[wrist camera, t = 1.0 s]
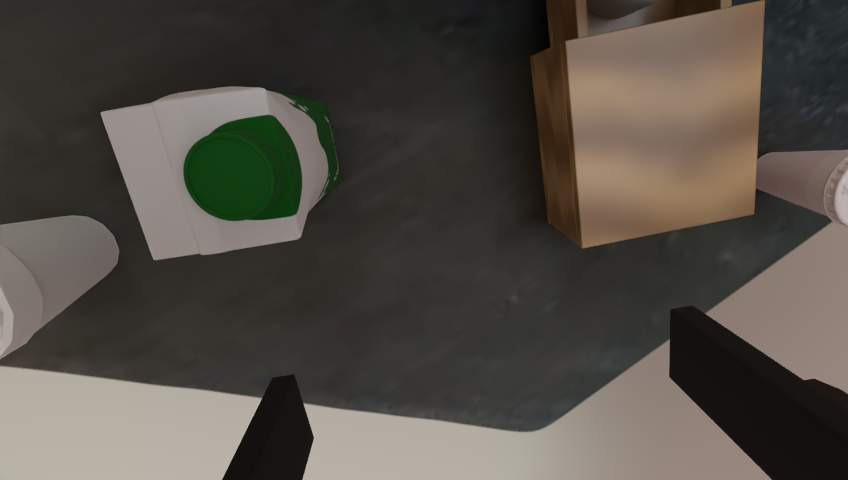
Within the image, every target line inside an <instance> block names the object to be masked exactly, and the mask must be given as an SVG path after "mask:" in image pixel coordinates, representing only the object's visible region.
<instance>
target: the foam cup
mask: <svg viewBox="0 0 848 480" xmlns="http://www.w3.org/2000/svg"><path fill="white" fill-rule="evenodd" d="M118 256H119V248H118V245H117V243H116V240H115V237H114V235H113V234H112V233H111V232H110V231H109V230H108V229H107V228H106V227H105V226H104V225H103V224H102V223H100V222H98V221H96V220H94V219H92V218H90V217H87V216H75V215H71V216H61V217H54V218H47V219H39V220H32V221H25V222H18V223H10V224H3V225H0V359H1V358H3V357H5V356H6V355H8V354H9V353H11V352H13V351H14V350H16V349H18V348H19V347H21V346H23V345H24V344H26V343H27V342H28V340H29V339H30V338H31V337H32V335H33V334H34V333H35V332H36V331H38V330H39V329H40V328H41V327H43V326H44V325H45V324H46V323H48V322H49V321H50V320H51V319H53V318H54V317H55V316H56V315H58V314H59V313H60V312H62V311H63V310H64V309H65V308H67V307H68V306H69V305H70V304H72V303H73V302H74V301H75V300H77V299H78V298H79V297H80V296H82V295H83V294H84V293H85V292H87V291H88V290H89V289H90V288H92V287H93V286H94V285H95V284H97V283H98V282H99V281H100V280H102V279H103V278H104V277H105V276H106V275H107V274H109V273H110V272H111V271H112V269H113V268H114V267H115V266H116V264H117V263H118Z"/></svg>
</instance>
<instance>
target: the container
mask: <svg viewBox="0 0 848 480" xmlns="http://www.w3.org/2000/svg"><path fill="white" fill-rule="evenodd" d="M659 1H661V0H586V4H587V8H588V9H589V10H590V11H591V12H593V13H594V14H596V15H598V16H600V17H603V18H608V19H616V18H621V17H625V16H627V15H629V14H632V13H634V12H636V11H638V10H641V9H643V8H645V7H648V6H650V5H652V4H654V3H657V2H659Z"/></svg>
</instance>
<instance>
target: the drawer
mask: <svg viewBox="0 0 848 480" xmlns="http://www.w3.org/2000/svg"><path fill="white" fill-rule="evenodd" d="M546 6H547V17H548V28H549V38H550V48H551V47H553V46H555V45H557V44H559V43H562V42H564V41H567V40H571V39H576V38H581V37H586V36H591V35H596V34H601V33H605V32H610V31H615V30H620V29H625V28H630V27H634V26H639V25H644V24H649V23H654V22H659V21H664V20H668V19H673V18H678V17H683V16H688V15H693V14H698V13H702V12H707V11H712V10H717V9H722V8H727V7H731V0H661V1H659V2H657V3H654V4H652V5H650V6H648V7H645V8H643V9H641V10H638V11H636V12H634V13H632V14H629V15H627V16H625V17H621V18H616V19H608V18H603V17H600V16H598V15H596V14H594V13H593V12H591V11H590V10H589V9H588V8H587V4H586V0H546Z"/></svg>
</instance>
